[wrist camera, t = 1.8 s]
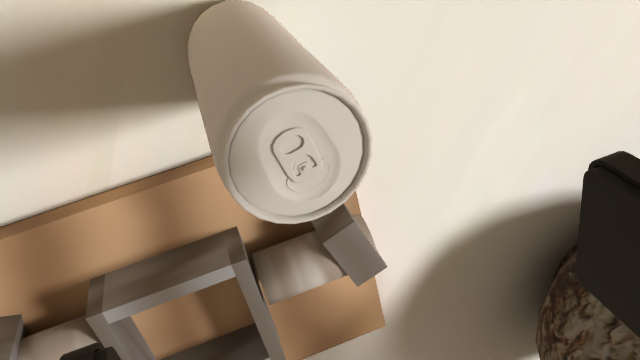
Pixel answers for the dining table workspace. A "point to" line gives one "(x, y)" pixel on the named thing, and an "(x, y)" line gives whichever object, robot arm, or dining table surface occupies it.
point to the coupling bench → (184, 276)
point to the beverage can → (275, 116)
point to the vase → (580, 322)
